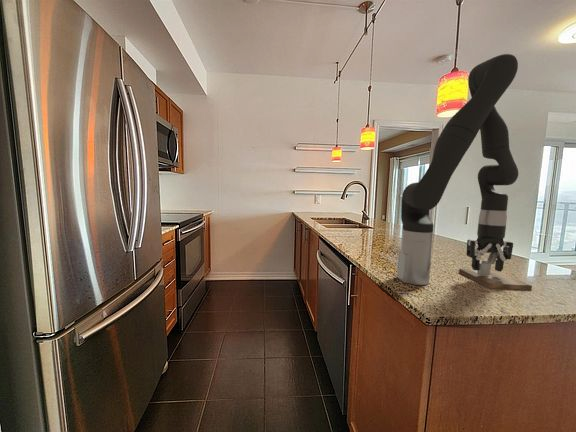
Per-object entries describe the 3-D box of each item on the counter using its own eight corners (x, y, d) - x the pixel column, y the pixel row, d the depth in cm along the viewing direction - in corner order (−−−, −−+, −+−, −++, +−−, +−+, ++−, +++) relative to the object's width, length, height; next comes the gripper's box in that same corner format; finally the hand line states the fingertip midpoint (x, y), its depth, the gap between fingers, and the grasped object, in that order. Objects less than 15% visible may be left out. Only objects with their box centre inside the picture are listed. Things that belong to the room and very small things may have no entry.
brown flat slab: (489, 288, 83) (489, 282, 83) (459, 272, 99) (459, 268, 98) (531, 289, 82) (532, 284, 82) (494, 273, 98) (494, 269, 98)
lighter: (481, 276, 88) (484, 253, 88) (476, 274, 90) (479, 252, 89) (496, 274, 91) (498, 252, 90) (491, 273, 92) (493, 251, 91)
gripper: (477, 224, 85) (472, 272, 87) (523, 225, 84) (517, 274, 86) (463, 221, 93) (459, 266, 94) (505, 222, 92) (500, 268, 93)
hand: (486, 270), depth 90 cm, fingers closed on lighter, 7 cm apart
